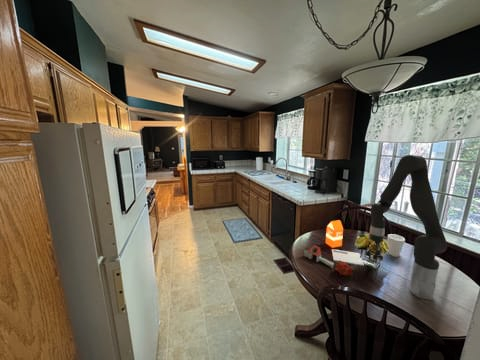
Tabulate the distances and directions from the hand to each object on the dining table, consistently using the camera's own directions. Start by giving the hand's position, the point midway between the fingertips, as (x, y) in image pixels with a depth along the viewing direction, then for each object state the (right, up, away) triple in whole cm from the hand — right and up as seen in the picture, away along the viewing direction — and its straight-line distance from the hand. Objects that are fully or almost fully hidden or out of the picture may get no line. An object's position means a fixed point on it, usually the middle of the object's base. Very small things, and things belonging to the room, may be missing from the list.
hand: (374, 257), depth 128 cm
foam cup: (+23, -3, +12) cm, 26 cm away
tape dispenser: (-34, -5, +9) cm, 35 cm away
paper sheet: (-13, -4, +9) cm, 16 cm away
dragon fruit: (-23, -8, -6) cm, 25 cm away
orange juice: (-14, 0, +27) cm, 30 cm away
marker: (0, -3, 0) cm, 3 cm away
